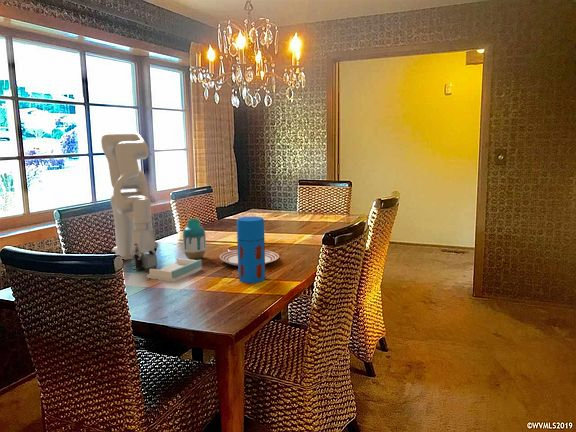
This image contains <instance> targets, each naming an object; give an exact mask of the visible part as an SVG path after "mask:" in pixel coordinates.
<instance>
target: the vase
mask: <svg viewBox="0 0 576 432" xmlns="http://www.w3.org/2000/svg"><path fill="white" fill-rule="evenodd" d="M186 225H187V226H186V227H184V229H183V233H182V244H183V245H182V246H183V252H184V255H185V257H186V259H190V260H200V259H201V258H203V257H204V256H205V254H206V252H207V251H206V250H207V249H206V248H207V241H206V240H207V239H206V231H205V228H204V227H203V226H201V224H200V219H199V218H196V217H194V218H188V219H187V224H186Z"/></svg>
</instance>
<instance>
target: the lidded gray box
mask: <svg viewBox="0 0 576 432" xmlns="http://www.w3.org/2000/svg"><path fill="white" fill-rule="evenodd" d="M138 256H139V254H138ZM141 259H142V268H141V269H140V268H136V264H135V259H133V266H134V267H135V271H137V270H138V271H141V270H144V271H145V273H148V272H149V269H157V266H158V260H157V259H158V258H157V254H155V255H153V254H149V253H142V256H141ZM138 271H137V272H138Z"/></svg>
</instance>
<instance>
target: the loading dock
mask: <svg viewBox="0 0 576 432" xmlns="http://www.w3.org/2000/svg"><path fill="white" fill-rule="evenodd" d="M202 261H203V259H190V258H180V257H179V258H178V257H177V258H176V263H172V264H170V265H167V266H165V267H162V268H160V269H157V268H155V269H149V271H148V272H149V273H147V274H146V278H147V279H149V278H151V280H156V279H158V281H163V280H165V281H164V282H171V283H176V282H177V281H180V280H182V279H184V278H187V277H189V276H191V275H193V274H195V273H198V272H199V271H201V270H203V264H202Z"/></svg>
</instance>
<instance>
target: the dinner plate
mask: <svg viewBox="0 0 576 432" xmlns="http://www.w3.org/2000/svg"><path fill="white" fill-rule="evenodd" d="M279 258H280V255H279V254H278V253H276V252H274V251H270V250H266V249H265V265H268V264H271V263H273V262H275V261H277V260H278V259H279ZM219 259H220V260H221V261H223V262H224V263H227V264H229V265H232V266H235V267H238V249H235V250H230V251H226V252H222V253H221V254H220V255H219Z"/></svg>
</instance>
